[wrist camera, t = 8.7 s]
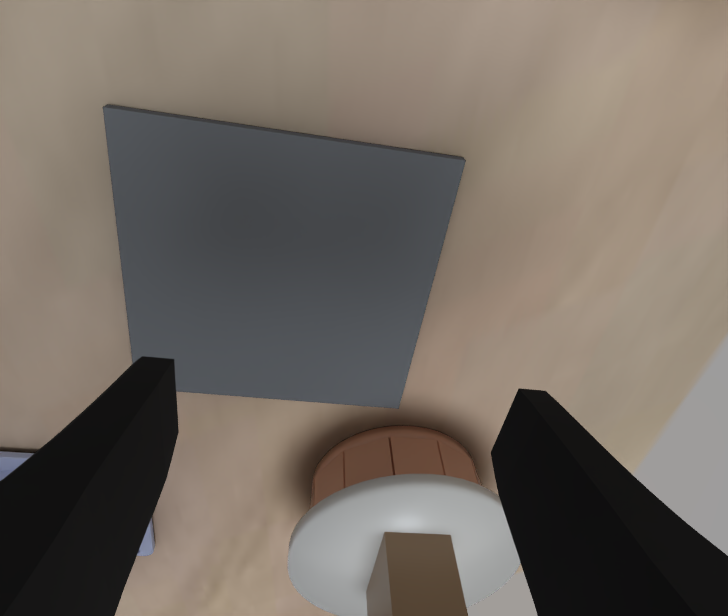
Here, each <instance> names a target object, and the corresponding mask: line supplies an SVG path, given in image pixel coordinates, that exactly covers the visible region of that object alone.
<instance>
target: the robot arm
mask: <svg viewBox="0 0 728 616" xmlns="http://www.w3.org/2000/svg"><path fill="white" fill-rule="evenodd" d="M177 435H178V415H177V398H176V381H175V363H174V359H169V358H157V357H146V356H142V357H140V358H139V359H138V360H136V361H135V362H134V363H133V364H132V365H131V366H130V367H129V368H128V369H127V370H126V371H125V372H124V373H123V374H122V375H121V376H120V377H119V378H118V379H117V380H116V381H115V382H114V383H113V384H112V385H111V386H110V387H109V388H108V389H107V390H106V391H104V392H103V393H102V394H101V395H100V396H99V397H98V398H97V399H96V400H95V401H94V402H93V403H92V404H91V405H90V406H88V407H87V408H86V409H85V410H84V411H83V412H82V413H81V414H80V415H78V416H77V417H76V418H75V419H74V420H73V421H72V422H71V423H70V424H68V425H67V426H66V427H65V428H64V429H63V430H62V431H61V432H60V433H58V434H57V435H56V436H55V437H54V438H53V439H51V440H50V441H49V442H48V443H47V444H45V445H44V446H43V447H42V448H41V449H39V450H38V451H37V452H36V453H20V452H3V451H0V616H114V615H115V612H116V610H117V607H118V604H119V601H120V598H121V595H122V592H123V590H124V587H125V584H126V582H127V579H128V577H129V574H130V572H131V569H132V566H133V564H134V561H135V559H136V556H148V555H151V554H152V553H153V551H154V548H155V542H154V533H153V524H152V515H153V512H154V510H155V507H156V505H157V502H158V499H159V497H160V494H161V492H162V489H163V486H164V484H165V481H166V478H167V474H168V470H169V467H170V463H171V459H172V455H173V451H174V447H175V443H176V439H177ZM491 456H492V462H493V468H494V473H495V479H496V484H497V488H498V493H499V498H500V501H501V504H502V507H503V511H504V514H505V517H506V520H507V523H508V526H509V529H510V532H511V535H512V538H513V541H514V544H515V547H516V550H517V553H518V556H519V559H520V562H521V565H522V568H523V571H524V574H525V577H526V580H527V583H528V586H529V589H530V592H531V595H532V598H533V601H534V604H535V608H536V611H537V615H538V616H728V556H727V555H726V554H725V553H723V552H722V551H721V550H720V549H718V548H717V547H716V546H714V545H713V544H712V543H711V542H709V541H708V540H707V539H706V538H704V537H703V536H702V535H700V534H699V533H698V532H697V531H695V530H694V529H693V528H692V527H691V526H690V525H688V524H687V523H686V522H685V521H683V520H682V519H681V518H680V517H679V516H678V515H676V514H675V513H674V512H673V511H672V510H671V509H670V508H668V507H667V506H666V505H665V504H664V503H663V502H662V501H661V500H659V499H658V498H657V497H656V496H655V495H654V494H653V493H651V492H650V491H649V490H648V489H647V488H646V487H645V486H644V485H643V484H642V483H641V482H639V481H638V480H637V479H636V478H635V477H634V476H633V475H632V474H631V473H630V472H629V471H628V470H627V469H626V468H624V467H623V466H622V465H621V464H620V463H619V462H618V461H617V460H616V459H615V458H614V457H613V456H612V455H611V454H610V453H609V452H608V451H607V450H606V449H605V448H604V447H603V446H602V445H601V444H600V443H599V442H598V441H597V440H596V439H595V438H594V437H593V436H592V435H591V434H590V433H589V432H588V431H587V430H586V429H585V428H584V427H583V426H581V425H580V424H579V423H578V422H577V421H576V420H575V419H574V418H573V417H572V416H571V415H570V414H569V413H568V412H567V411H566V410H565V409H564V408H563V407H562V406H561V405H560V404H559V403H558V402H557V401H556V400H555V399H554V398H553V397H552V396H550V395H549V394H548V393H547V392H546V391H541V390H529V389H518V392H517V394H516V396H515V398H514V401H513V403H512V405H511V408H510V410H509V412H508V415H507V417H506V419H505V421H504V424H503V426H502V428H501V431H500V433H499V435H498V437H497V440H496V442H495V444H494V447H493V449H492V451H491Z"/></svg>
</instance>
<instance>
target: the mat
mask: <svg viewBox="0 0 728 616" xmlns="http://www.w3.org/2000/svg"><path fill="white" fill-rule="evenodd" d="M103 112H104V121H105V129H106V138H107V147H108V155H109V164H110V172H111V181H112V190H113V198H114V207H115V215H116V224H117V233H118V241H119V250H120V258H121V267H122V276H123V284H124V293H125V301H126V310H127V319H128V327H129V336H130V344H131V353H132V362H133V363H134V362H135V361H136V360H138V359H139V358H140V357H142V356H146V357H157V358H169V359H174V363H175V381H176V391H178V392H191V393H204V394H217V395H230V396H243V397H255V398H268V399H281V400H294V401H307V402H320V403H332V404H345V405H358V406H371V407H384V408H397V409H399V405H400V401H401V398H402V394H403V390H404V387H405V383H406V379H407V375H408V372H409V368H410V364H411V361H412V357H413V353H414V350H415V346H416V342H417V339H418V335H419V331H420V327H421V324H422V320H423V316H424V313H425V309H426V305H427V302H428V298H429V294H430V291H431V287H432V283H433V279H434V276H435V272H436V268H437V265H438V261H439V257H440V254H441V250H442V246H443V243H444V239H445V235H446V231H447V228H448V224H449V220H450V217H451V213H452V209H453V206H454V202H455V198H456V194H457V191H458V187H459V183H460V180H461V176H462V172H463V169H464V165H465V161H466V160H465V159H464V158H463V157H458V156H452V155H445V154H438V153H432V152H425V151H418V150H411V149H405V148H398V147H391V146H384V145H378V144H371V143H364V142H357V141H351V140H344V139H337V138H331V137H324V136H317V135H310V134H304V133H297V132H290V131H283V130H277V129H270V128H263V127H256V126H250V125H243V124H236V123H230V122H223V121H216V120H209V119H203V118H196V117H189V116H182V115H176V114H169V113H162V112H155V111H149V110H142V109H135V108H129V107H122V106H115V105H108V104H107V105H106V106H104V107H103Z"/></svg>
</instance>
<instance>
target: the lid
mask: <svg viewBox="0 0 728 616" xmlns="http://www.w3.org/2000/svg"><path fill="white" fill-rule="evenodd" d="M520 563H521V562H520V559H519V556H518V553H517V550H516V547H515V544H514V541H513V538H512V535H511V532H510V529H509V526H508V523H507V520H506V517H505V514H504V511H503V507H502V504H501V501H500V498H499V496H498V495H497V494H495V493H494V492H492V491H491V490H489V489H487V488H485V487H483V486H481V485H479V484H476V483H474V482H471V481H467V480H464V479H461V478H456V477H451V476H446V475H436V474H401V475H392V476H386V477H379V478H375V479H371V480H367V481H363V482H360V483H357V484H354V485H351V486H349V487H346V488H344V489H342V490H340V491H337V492H335V493H333V494H331V495H330V496H328V497H326V498H325V499H323V500H321V501H320V502H319V503H317V504H316V505H315V506H313V507H312V508H311V509H310V510H309V511H308V512H307V513H306V514H305V515H304V516H303V517H302V518H301V519H300V521H299V522H298V523H297V525H296V526H295V528H294V530H293V533H292V535H291V538H290V542H289V552H288V573H289V577H290V580H291V582H292V584H293V586H294V587H295V588H296V590H297V591H298V592H299V593H300V594H301V595H302V596H303V597H304V598H305V599H306V600H308V601H309V602H311V603H312V604H313V605H315V606H317V607H319V608H321V609H323V610H325V611H327V612H330V613H332V614H335V615H338V616H468V613H467V609H466V608H467V607H469V606H472V605H474V604H476V603H478V602H480V601H481V600H483V599H485V598H487V597H489V596H490V595H492V594H493V593H495V592H496V591H497V590H499V589H500V588H501V587H502V586H503V585H505V584H506V582H507V581H508V580H509V579H510V578H511V577H512V576H513V575H514V573H515V572H516V570H517V569H518V567H519V565H520Z"/></svg>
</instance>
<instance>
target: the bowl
mask: <svg viewBox="0 0 728 616" xmlns="http://www.w3.org/2000/svg"><path fill="white" fill-rule="evenodd" d="M401 474H436V475H446V476H451V477H456V478H461V479H464V480H467V481H471V482H474V483H476V484H479V485H481V482H480V480H479V477H478V475H477V472H476V469H475V465H474V462H473V459H472V458H471V456H470V454H469V452H468V451H467V450H466V449H465V448H464V447H463V446H462V445H461V444H460V443H459V442H458V441H456V440H455V439H453V438H452V437H450V436H448V435H446V434H443V433H441V432H438V431H435V430H432V429H428V428H423V427H416V426H388V427H381V428H376V429H372V430H368V431H364V432H362V433H359V434H356V435H354V436H352V437H349V438H347V439H345V440H344V441H342V442H340V443H339V444H337V445H336V446H335V447H333V448H332V449H331V450H330V451H328V452H327V453H326V455H325V456H324V457H323V458H322V459H321V461H320V462H319V463H318V465H317V467H316V469H315V471H314V475H313V480H312V495H311V501H310V509H311V508H312V507H313V506H315V505H316V504H317V503H319V502H320V501H321V500H323V499H325V498H326V497H328V496H330V495H331V494H333V493H335V492H337V491H340V490H342V489H344V488H346V487H349V486H351V485H354V484H357V483H360V482H363V481H367V480H371V479H375V478H379V477H386V476H392V475H401ZM481 486H482V485H481Z"/></svg>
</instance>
